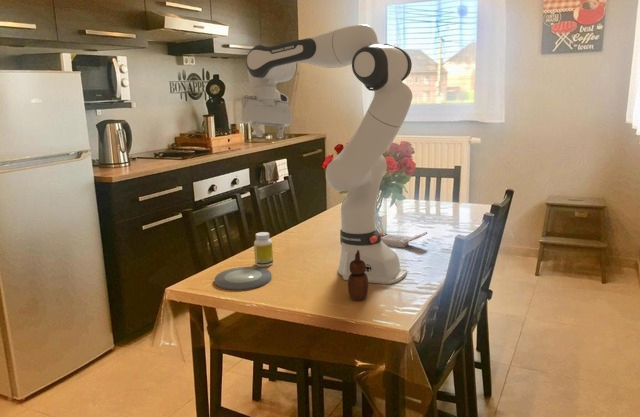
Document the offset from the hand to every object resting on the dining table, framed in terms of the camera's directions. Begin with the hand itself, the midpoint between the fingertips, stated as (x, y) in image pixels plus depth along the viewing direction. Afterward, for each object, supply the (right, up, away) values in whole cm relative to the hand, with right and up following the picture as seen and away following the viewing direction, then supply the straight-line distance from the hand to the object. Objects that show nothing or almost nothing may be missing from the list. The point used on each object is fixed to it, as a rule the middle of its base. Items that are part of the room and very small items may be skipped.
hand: (270, 137), depth 181 cm
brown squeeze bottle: (+28, -50, -28) cm, 64 cm away
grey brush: (+45, -38, +21) cm, 63 cm away
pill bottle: (-2, -44, +4) cm, 44 cm away
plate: (-8, -47, -10) cm, 49 cm away
